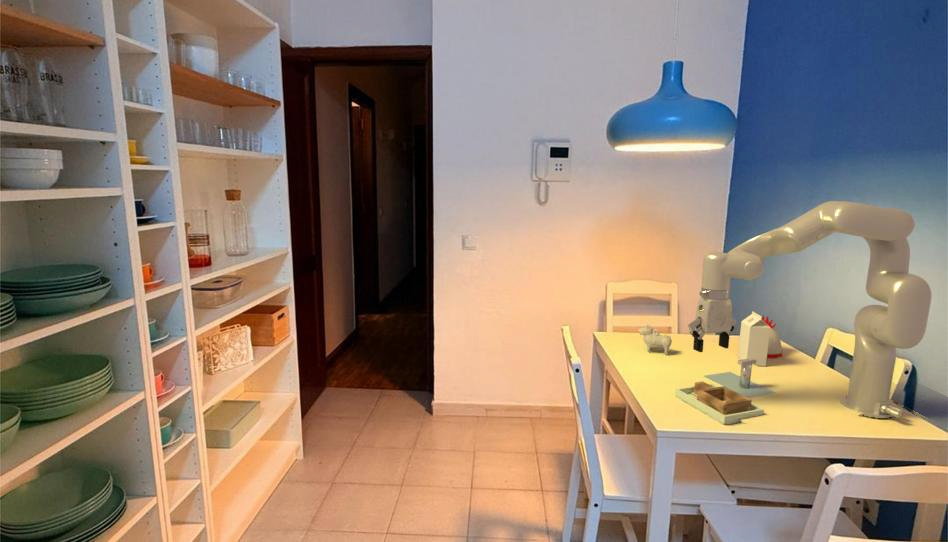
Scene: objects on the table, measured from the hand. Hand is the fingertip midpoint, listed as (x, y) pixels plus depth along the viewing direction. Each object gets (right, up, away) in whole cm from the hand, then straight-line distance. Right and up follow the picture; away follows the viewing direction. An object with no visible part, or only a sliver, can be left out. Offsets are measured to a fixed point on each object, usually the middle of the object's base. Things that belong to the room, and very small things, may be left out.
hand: (710, 348), depth 147 cm
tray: (+1, -17, -2) cm, 17 cm away
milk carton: (+32, -11, +34) cm, 48 cm away
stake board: (+15, -15, +13) cm, 25 cm away
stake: (+16, -14, +10) cm, 24 cm away
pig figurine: (0, -9, +46) cm, 47 cm away
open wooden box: (+1, -16, -1) cm, 16 cm away
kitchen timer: (+43, -9, +46) cm, 64 cm away
